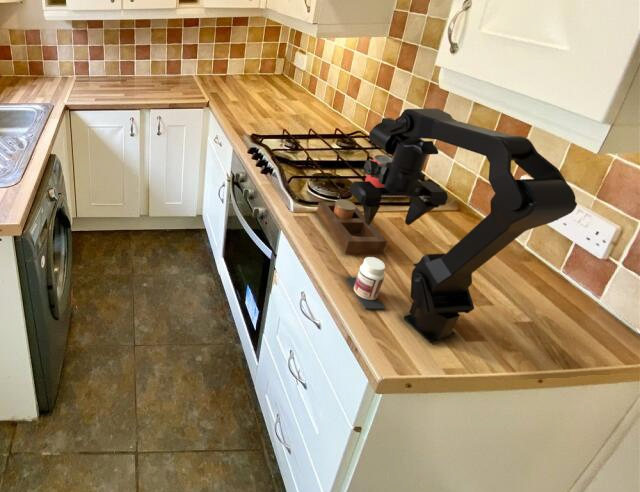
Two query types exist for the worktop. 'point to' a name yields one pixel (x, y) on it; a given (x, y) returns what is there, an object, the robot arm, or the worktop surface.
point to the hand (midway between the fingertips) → (387, 224)
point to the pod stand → (351, 231)
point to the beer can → (380, 160)
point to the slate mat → (366, 303)
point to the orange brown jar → (344, 209)
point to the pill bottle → (369, 278)
